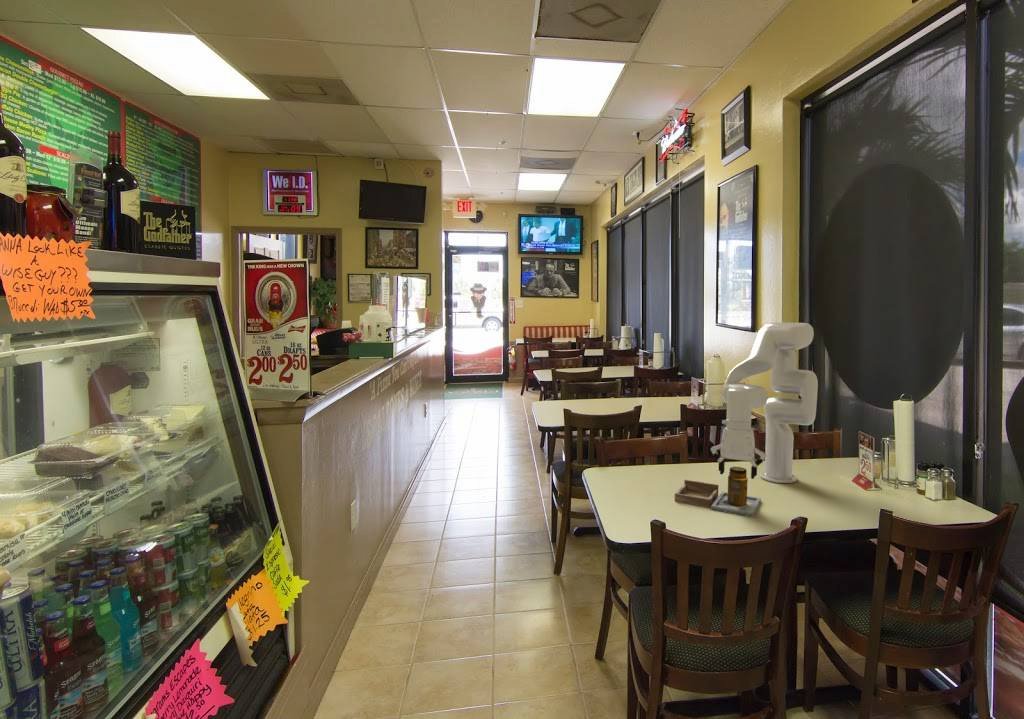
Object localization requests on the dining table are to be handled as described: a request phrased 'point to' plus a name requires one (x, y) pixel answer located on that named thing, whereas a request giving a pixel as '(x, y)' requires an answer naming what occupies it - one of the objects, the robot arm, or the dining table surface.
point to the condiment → (737, 488)
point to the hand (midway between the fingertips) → (737, 475)
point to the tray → (744, 511)
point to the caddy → (697, 488)
